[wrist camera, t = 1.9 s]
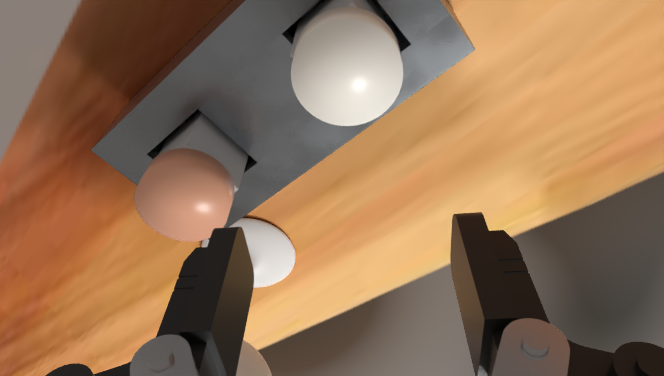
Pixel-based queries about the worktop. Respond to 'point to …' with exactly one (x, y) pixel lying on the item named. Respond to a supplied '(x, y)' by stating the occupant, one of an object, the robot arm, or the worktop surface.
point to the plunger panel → (266, 91)
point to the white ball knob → (346, 62)
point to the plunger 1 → (191, 181)
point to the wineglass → (263, 277)
